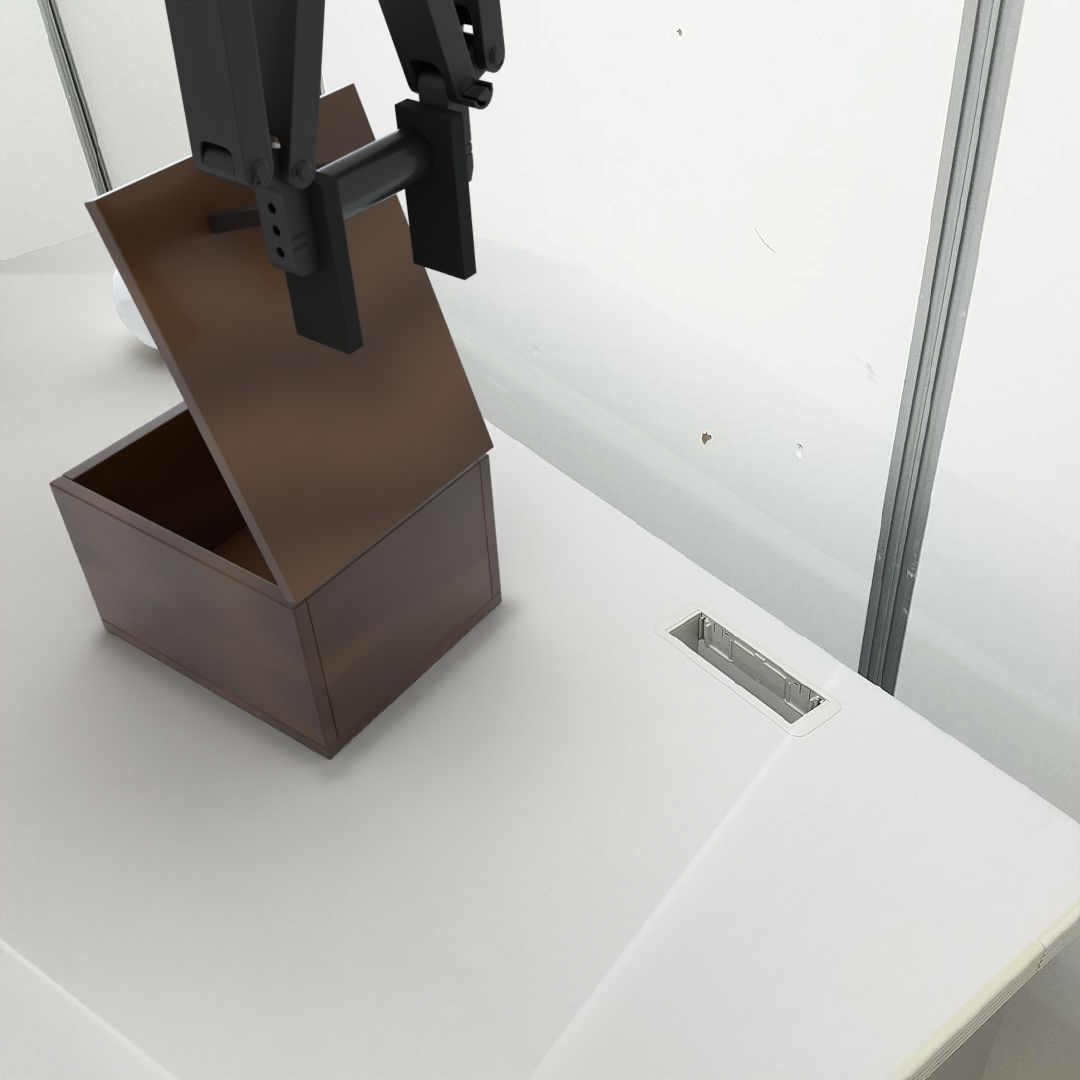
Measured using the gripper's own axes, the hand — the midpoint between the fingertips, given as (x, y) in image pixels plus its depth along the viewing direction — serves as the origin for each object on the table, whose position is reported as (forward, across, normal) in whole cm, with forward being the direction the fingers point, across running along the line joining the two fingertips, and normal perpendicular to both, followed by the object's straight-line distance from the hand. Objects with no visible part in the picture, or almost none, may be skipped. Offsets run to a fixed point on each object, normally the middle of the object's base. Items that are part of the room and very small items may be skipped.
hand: (389, 301), depth 49 cm
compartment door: (+3, 0, +5) cm, 6 cm away
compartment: (+22, 0, +10) cm, 24 cm away
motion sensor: (+22, +16, +37) cm, 46 cm away
